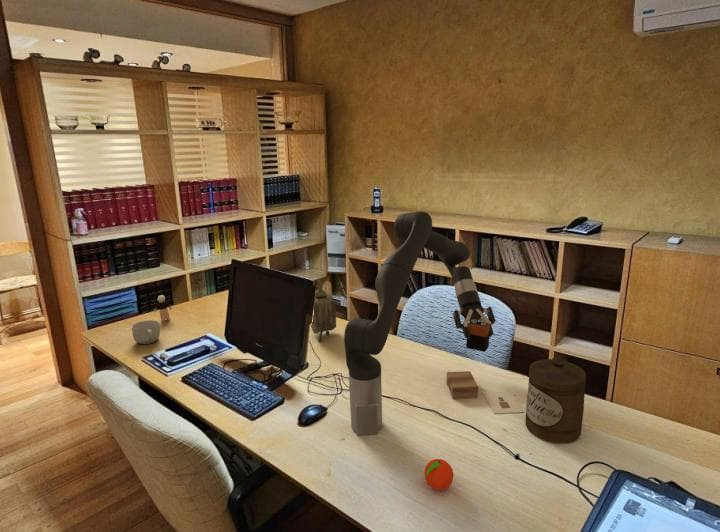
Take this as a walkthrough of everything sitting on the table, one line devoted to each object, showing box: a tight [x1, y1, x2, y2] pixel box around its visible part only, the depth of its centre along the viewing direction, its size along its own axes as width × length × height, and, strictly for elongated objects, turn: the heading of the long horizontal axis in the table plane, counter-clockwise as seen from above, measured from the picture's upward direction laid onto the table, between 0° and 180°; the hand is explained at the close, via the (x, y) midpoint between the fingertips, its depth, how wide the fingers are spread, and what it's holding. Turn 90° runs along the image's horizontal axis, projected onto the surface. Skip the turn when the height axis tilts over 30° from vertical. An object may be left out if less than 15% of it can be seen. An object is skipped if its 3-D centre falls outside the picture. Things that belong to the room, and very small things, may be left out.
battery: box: [465, 319, 490, 352], centre depth 163 cm, size 4×7×10 cm, turn 57°
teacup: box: [130, 319, 161, 345], centre depth 199 cm, size 14×11×8 cm
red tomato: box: [423, 458, 454, 491], centre depth 113 cm, size 8×7×7 cm
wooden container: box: [525, 356, 587, 445], centre depth 132 cm, size 15×15×22 cm
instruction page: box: [482, 390, 524, 415], centre depth 148 cm, size 12×9×1 cm
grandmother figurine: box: [153, 294, 173, 323], centre depth 221 cm, size 8×4×13 cm, turn 130°
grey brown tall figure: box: [310, 278, 337, 342], centre depth 198 cm, size 14×9×25 cm, turn 17°
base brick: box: [446, 370, 479, 400], centre depth 155 cm, size 10×8×4 cm
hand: (479, 337), depth 161 cm, fingers closed on battery, 7 cm apart
